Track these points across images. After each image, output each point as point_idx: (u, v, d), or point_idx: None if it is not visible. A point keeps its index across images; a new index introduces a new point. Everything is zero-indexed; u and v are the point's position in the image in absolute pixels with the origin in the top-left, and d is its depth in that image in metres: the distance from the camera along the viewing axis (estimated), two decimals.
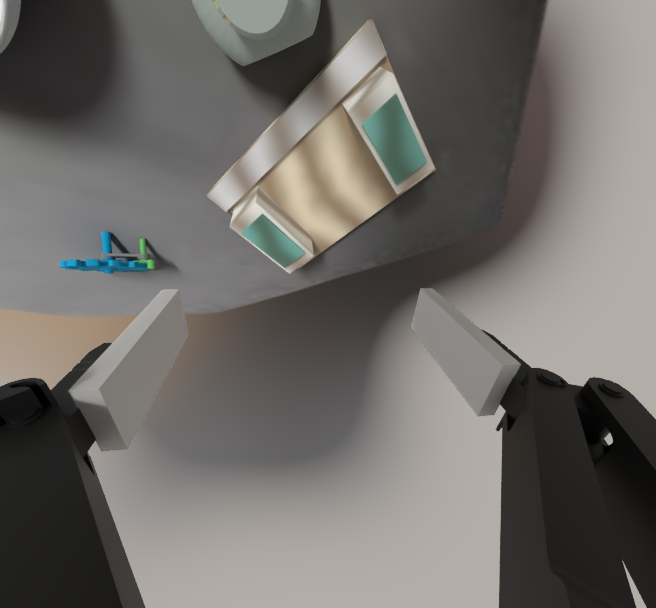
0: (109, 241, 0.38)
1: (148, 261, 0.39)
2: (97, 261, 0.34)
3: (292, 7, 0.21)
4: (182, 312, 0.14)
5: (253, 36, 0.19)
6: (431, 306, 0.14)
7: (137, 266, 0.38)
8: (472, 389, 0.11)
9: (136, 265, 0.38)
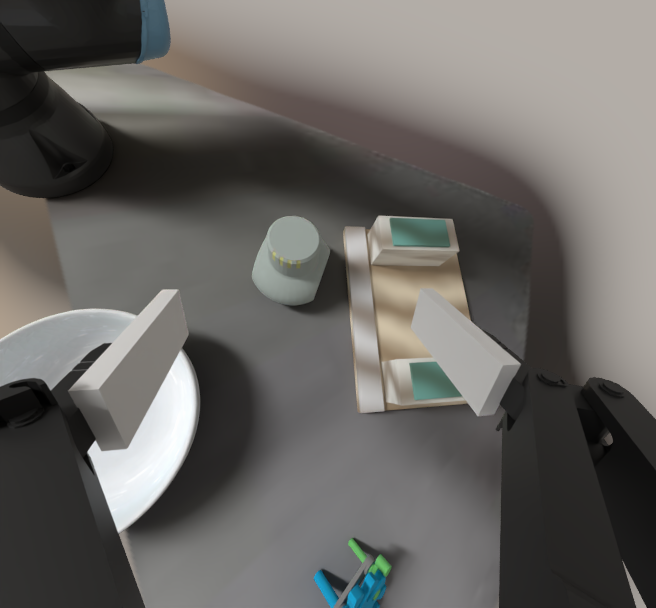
0: (327, 582, 0.27)
1: (378, 561, 0.27)
2: None
3: None
4: (183, 312, 0.14)
5: (314, 255, 0.28)
6: (431, 306, 0.14)
7: (376, 578, 0.25)
8: (472, 389, 0.11)
9: (374, 577, 0.25)
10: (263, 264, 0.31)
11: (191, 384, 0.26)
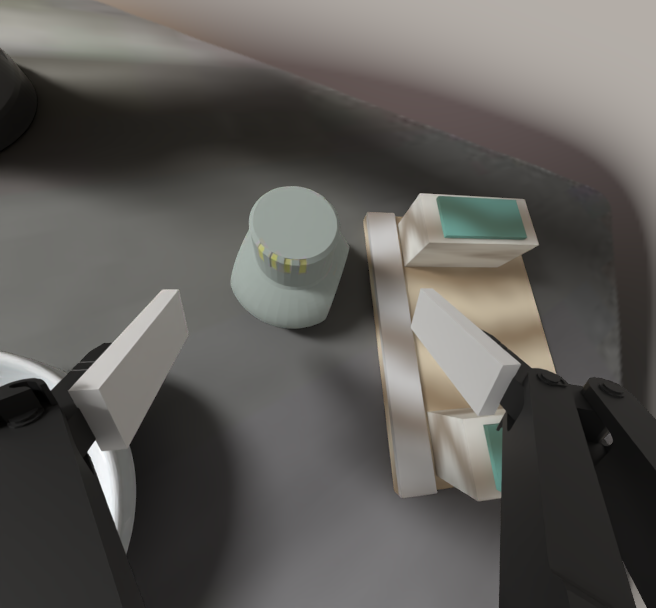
0: None
1: None
2: None
3: None
4: (182, 312, 0.14)
5: (329, 250, 0.17)
6: (431, 306, 0.14)
7: None
8: (472, 389, 0.11)
9: None
10: (247, 267, 0.20)
11: (111, 484, 0.14)
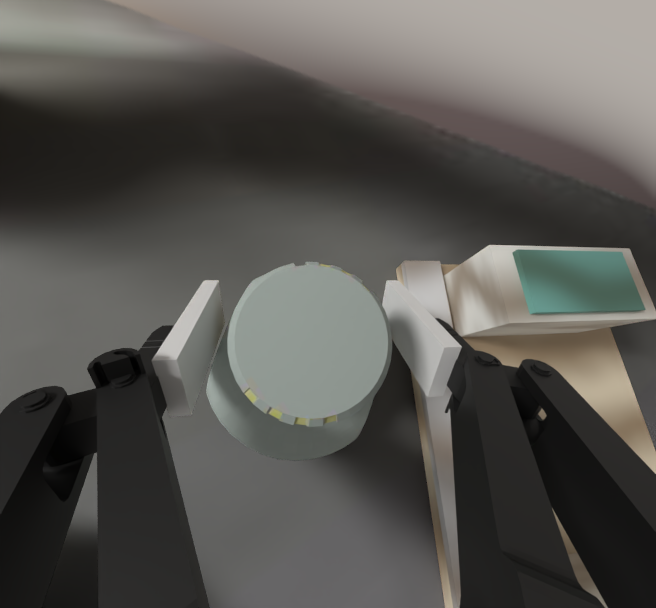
0: None
1: None
2: None
3: None
4: (220, 302, 0.15)
5: (376, 389, 0.09)
6: (394, 297, 0.15)
7: None
8: (423, 372, 0.12)
9: None
10: (230, 378, 0.12)
11: None
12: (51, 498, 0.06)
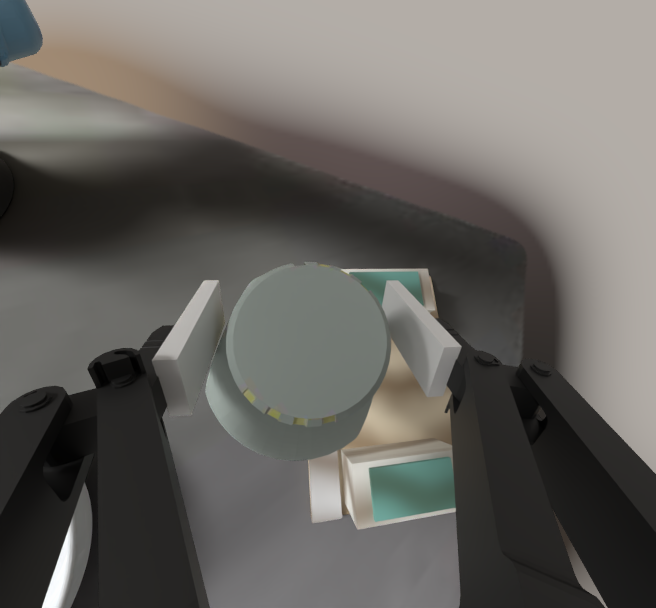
0: None
1: None
2: None
3: None
4: (220, 301, 0.15)
5: (375, 389, 0.09)
6: (394, 297, 0.15)
7: None
8: (423, 372, 0.12)
9: None
10: (229, 378, 0.12)
11: None
12: (51, 498, 0.06)
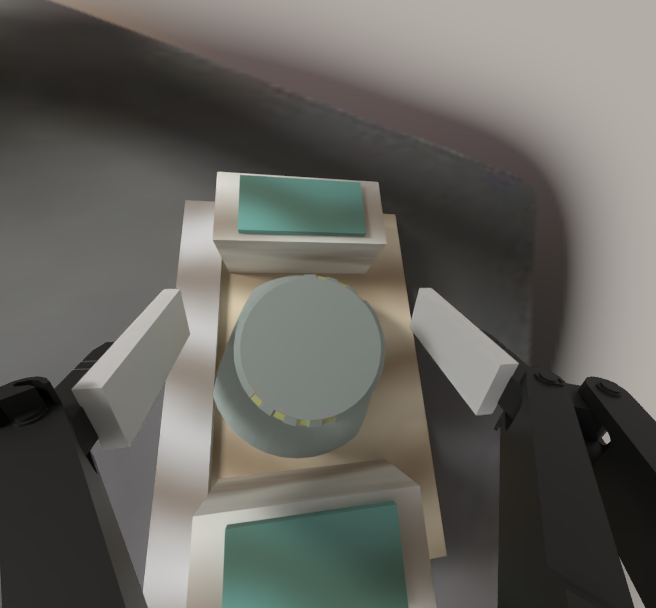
0: None
1: None
2: None
3: None
4: (184, 312, 0.14)
5: (370, 392, 0.10)
6: (430, 306, 0.14)
7: None
8: (470, 388, 0.11)
9: None
10: (236, 383, 0.13)
11: None
12: None
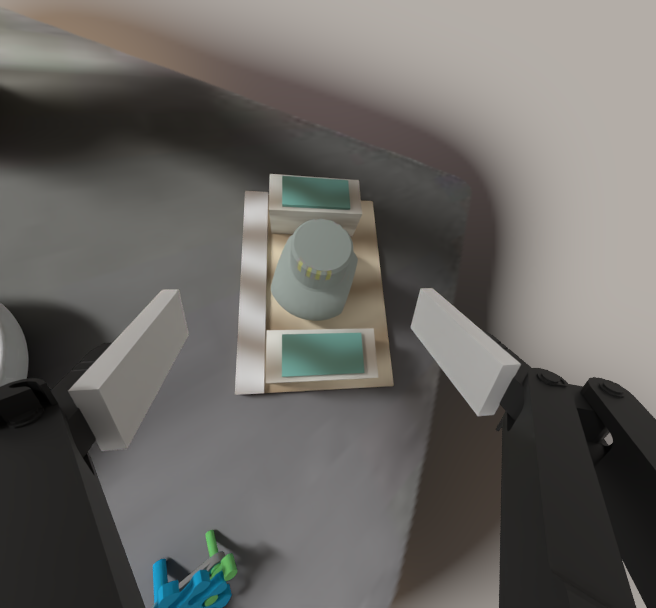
0: (164, 574, 0.23)
1: (223, 561, 0.22)
2: None
3: None
4: (182, 312, 0.14)
5: (346, 264, 0.24)
6: (431, 306, 0.14)
7: (206, 579, 0.21)
8: (472, 389, 0.11)
9: (204, 577, 0.21)
10: (284, 275, 0.27)
11: None
12: None
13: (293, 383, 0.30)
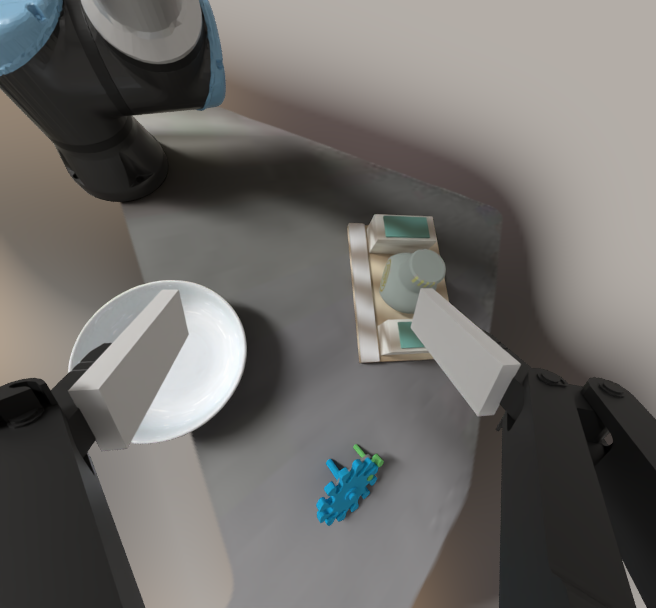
0: (336, 466, 0.38)
1: (374, 456, 0.37)
2: (346, 469, 0.33)
3: None
4: (182, 312, 0.14)
5: (443, 277, 0.39)
6: (431, 306, 0.14)
7: (372, 462, 0.36)
8: (472, 389, 0.11)
9: (371, 461, 0.36)
10: (395, 284, 0.42)
11: (241, 333, 0.36)
12: None
13: (395, 355, 0.44)
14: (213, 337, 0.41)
